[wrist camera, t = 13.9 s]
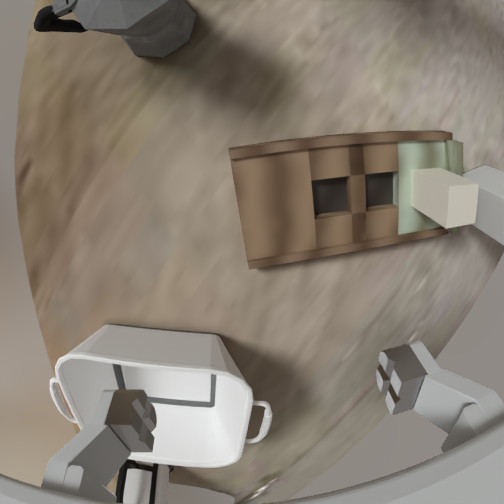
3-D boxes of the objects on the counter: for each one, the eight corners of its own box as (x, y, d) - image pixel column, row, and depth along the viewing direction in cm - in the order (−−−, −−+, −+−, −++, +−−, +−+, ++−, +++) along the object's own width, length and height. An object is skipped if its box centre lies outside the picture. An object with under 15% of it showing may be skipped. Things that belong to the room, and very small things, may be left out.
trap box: (247, 260, 43) (250, 279, 38) (228, 148, 36) (228, 153, 32) (439, 227, 43) (457, 240, 38) (441, 130, 36) (463, 135, 32)
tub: (274, 310, 47) (289, 372, 35) (253, 415, 58) (259, 468, 46) (59, 291, 43) (23, 343, 31) (90, 399, 54) (75, 448, 42)
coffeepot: (207, -19, 27) (195, -98, 10) (219, 45, 31) (214, -8, 14) (87, 17, 27) (8, -23, 10) (96, 80, 31) (10, 69, 15)
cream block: (410, 205, 39) (446, 228, 31) (411, 169, 37) (449, 186, 29) (438, 201, 39) (475, 223, 31) (439, 167, 37) (478, 183, 29)
